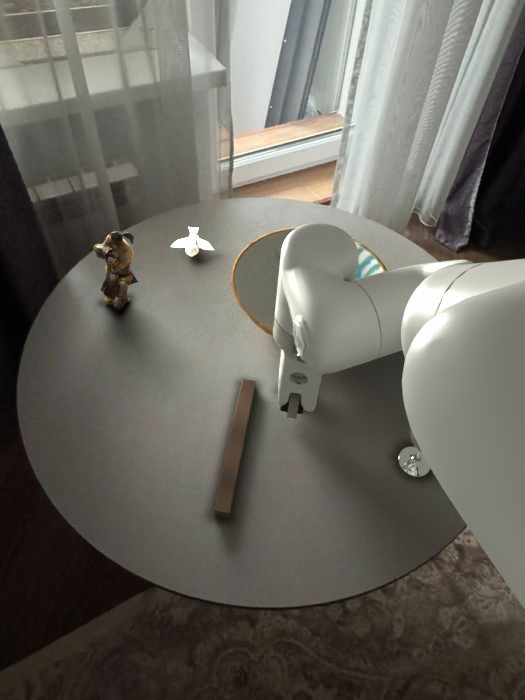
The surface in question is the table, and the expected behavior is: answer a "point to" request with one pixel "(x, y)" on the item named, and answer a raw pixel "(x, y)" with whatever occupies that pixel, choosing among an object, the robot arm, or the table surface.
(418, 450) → the wineglass
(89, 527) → the table surface
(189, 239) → the toy bird
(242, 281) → the bowl
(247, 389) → the rail
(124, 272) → the figurine
